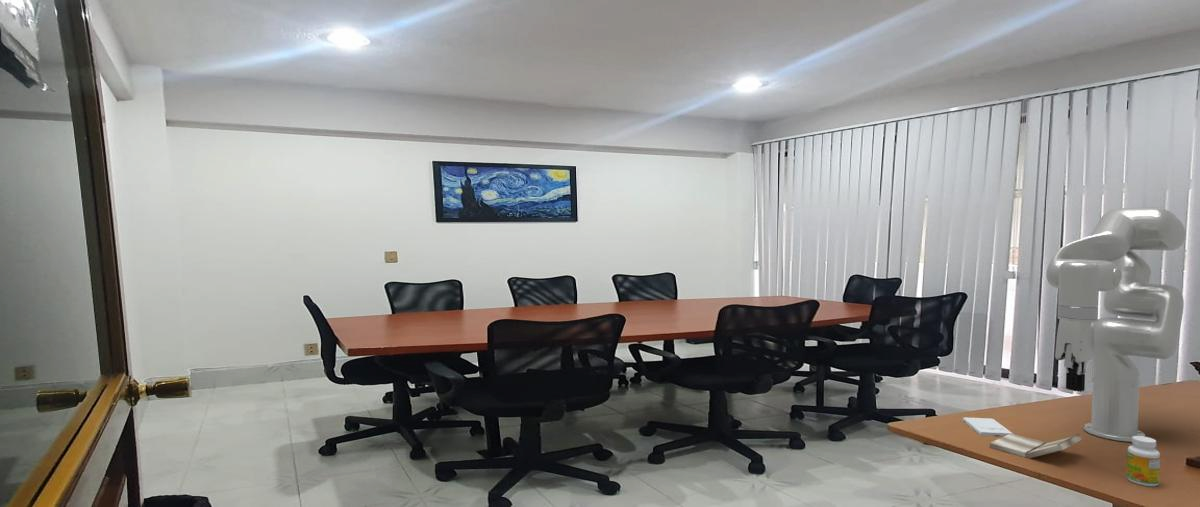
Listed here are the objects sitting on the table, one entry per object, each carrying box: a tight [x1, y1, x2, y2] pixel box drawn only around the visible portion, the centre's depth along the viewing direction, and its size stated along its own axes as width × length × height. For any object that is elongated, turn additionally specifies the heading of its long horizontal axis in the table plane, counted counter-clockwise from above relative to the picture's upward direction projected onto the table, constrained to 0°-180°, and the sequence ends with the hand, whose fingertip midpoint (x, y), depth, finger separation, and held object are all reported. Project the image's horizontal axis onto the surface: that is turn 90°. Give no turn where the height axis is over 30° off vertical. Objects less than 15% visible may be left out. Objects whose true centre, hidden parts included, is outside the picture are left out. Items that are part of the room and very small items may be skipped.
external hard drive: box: [962, 416, 1014, 437], centre depth 170 cm, size 2×8×12 cm
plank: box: [1027, 433, 1083, 459], centre depth 149 cm, size 12×8×1 cm
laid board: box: [989, 433, 1046, 459], centre depth 156 cm, size 12×9×1 cm
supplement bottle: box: [1126, 436, 1161, 487], centre depth 135 cm, size 5×5×10 cm
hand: (1075, 389), depth 145 cm, fingers closed
